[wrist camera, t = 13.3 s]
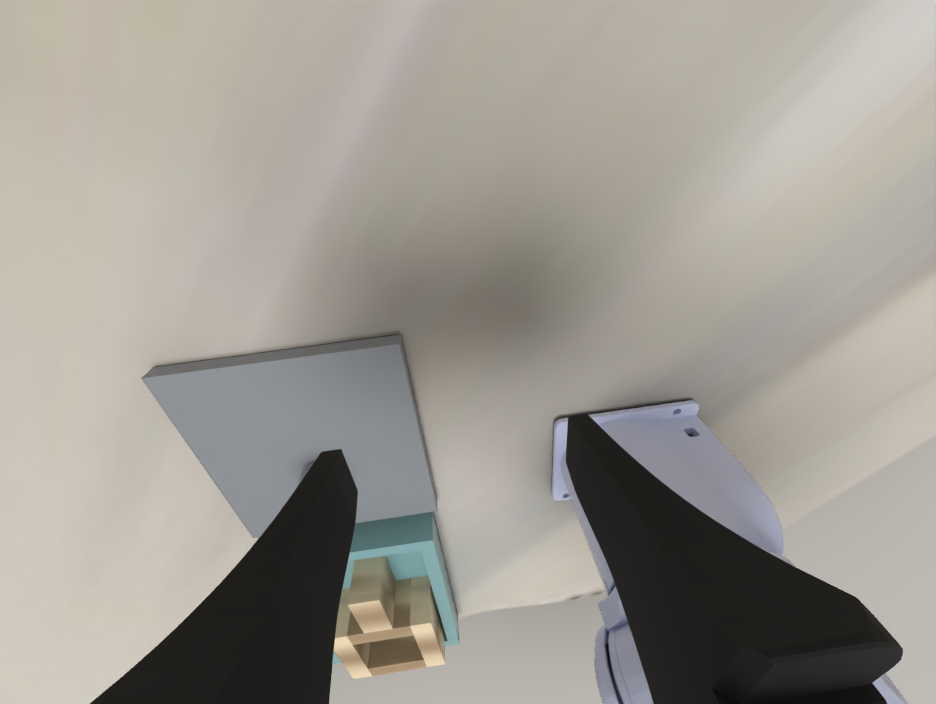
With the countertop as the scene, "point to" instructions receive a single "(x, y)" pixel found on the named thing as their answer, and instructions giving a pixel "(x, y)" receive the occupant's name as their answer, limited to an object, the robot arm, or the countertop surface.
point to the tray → (408, 559)
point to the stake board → (302, 425)
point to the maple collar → (387, 622)
